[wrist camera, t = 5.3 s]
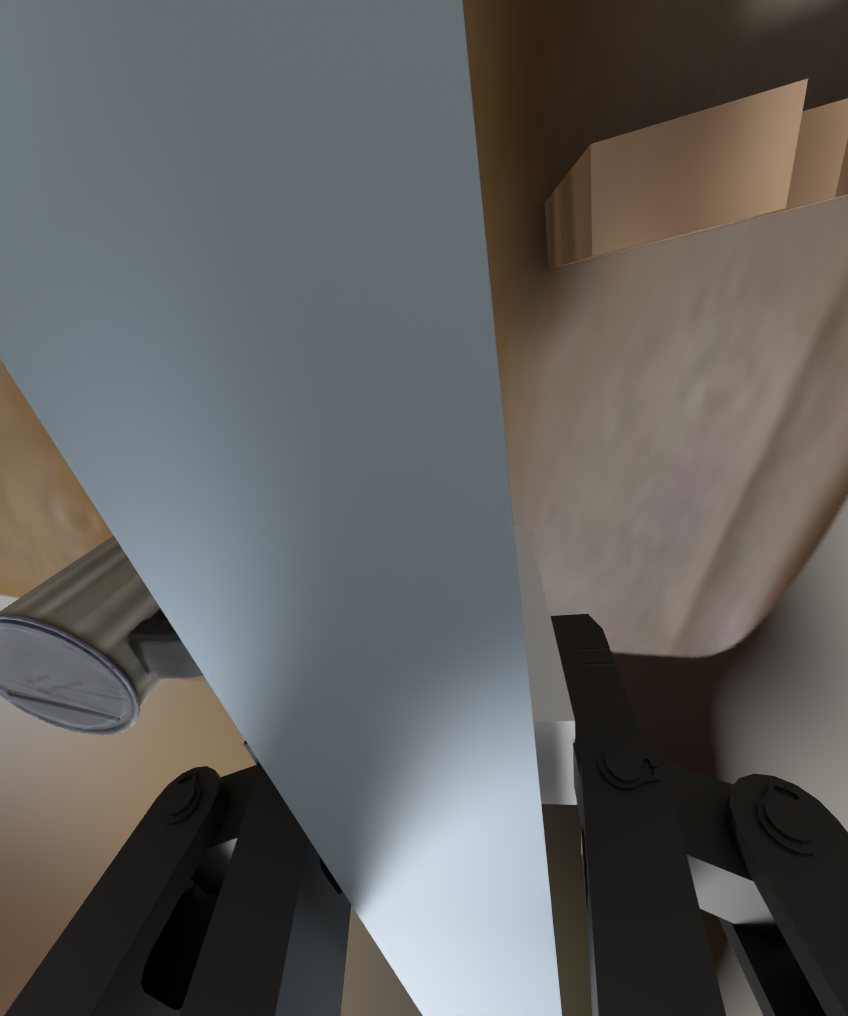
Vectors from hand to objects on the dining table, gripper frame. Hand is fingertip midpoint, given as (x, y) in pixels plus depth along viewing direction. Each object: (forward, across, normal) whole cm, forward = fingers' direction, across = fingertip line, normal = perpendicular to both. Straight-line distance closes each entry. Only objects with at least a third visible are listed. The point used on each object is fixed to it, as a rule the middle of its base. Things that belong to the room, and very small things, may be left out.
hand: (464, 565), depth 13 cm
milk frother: (+15, -20, -1) cm, 25 cm away
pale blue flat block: (0, 0, +1) cm, 1 cm away
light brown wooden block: (+15, +13, +10) cm, 22 cm away
